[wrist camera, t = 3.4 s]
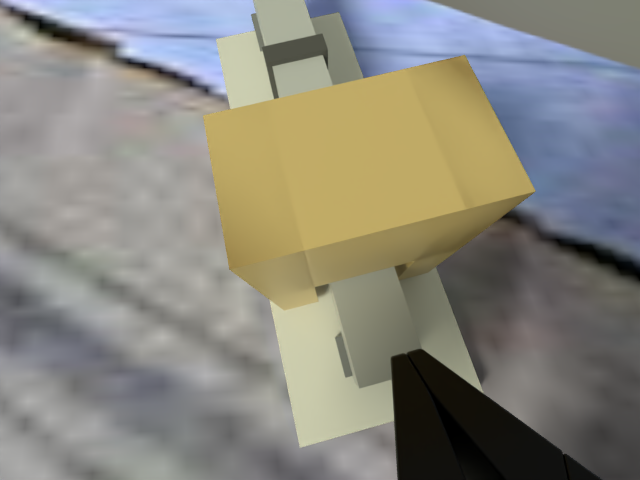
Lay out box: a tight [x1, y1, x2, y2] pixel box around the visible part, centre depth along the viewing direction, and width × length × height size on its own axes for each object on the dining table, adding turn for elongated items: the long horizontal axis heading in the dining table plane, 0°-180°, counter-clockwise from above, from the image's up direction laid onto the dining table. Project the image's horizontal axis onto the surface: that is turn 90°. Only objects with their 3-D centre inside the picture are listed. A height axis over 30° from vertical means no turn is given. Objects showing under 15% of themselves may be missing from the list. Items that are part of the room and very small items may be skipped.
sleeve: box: [203, 55, 536, 311], centre depth 11 cm, size 4×7×8 cm, turn 104°
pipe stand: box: [216, 0, 484, 447], centre depth 16 cm, size 23×8×5 cm, turn 15°
